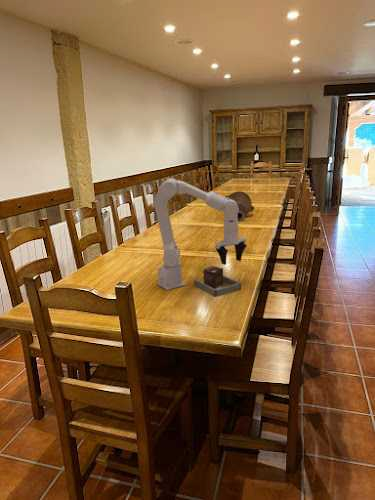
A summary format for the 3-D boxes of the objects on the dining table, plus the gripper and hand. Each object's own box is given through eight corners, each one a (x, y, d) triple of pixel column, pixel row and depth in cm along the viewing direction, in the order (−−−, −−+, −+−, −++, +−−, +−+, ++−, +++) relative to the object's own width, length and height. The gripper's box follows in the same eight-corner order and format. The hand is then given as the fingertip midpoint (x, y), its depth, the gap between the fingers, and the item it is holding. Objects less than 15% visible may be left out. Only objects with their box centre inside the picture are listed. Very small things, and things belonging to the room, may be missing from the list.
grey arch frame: (215, 296, 145) (215, 290, 144) (194, 285, 158) (193, 279, 157) (240, 289, 151) (240, 283, 150) (218, 278, 164) (218, 273, 163)
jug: (230, 214, 305) (227, 228, 278) (224, 191, 297) (221, 203, 271) (255, 208, 300) (255, 223, 273) (250, 185, 292) (249, 197, 266)
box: (212, 281, 161) (211, 265, 159) (223, 284, 157) (223, 268, 155) (203, 286, 156) (202, 269, 154) (215, 289, 152) (214, 272, 150)
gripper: (222, 234, 144) (222, 268, 148) (251, 229, 151) (251, 261, 155) (211, 231, 150) (212, 263, 154) (240, 226, 157) (240, 257, 161)
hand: (231, 262), depth 155 cm, fingers open, 7 cm apart
